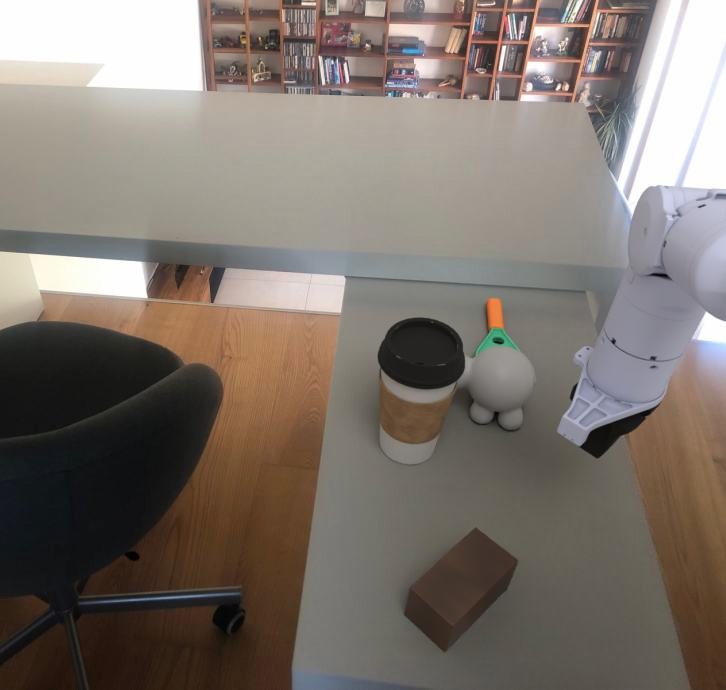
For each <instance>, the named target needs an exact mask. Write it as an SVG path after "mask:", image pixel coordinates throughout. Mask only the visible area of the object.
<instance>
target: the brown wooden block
mask: <svg viewBox="0 0 726 690" xmlns="http://www.w3.org/2000/svg"><path fill="white" fill-rule="evenodd" d="M518 563H519V559H518V558H516V557H515V556H514V555H513V554H511V553H510V552H509V551H508V550H506V549H505V548H504V547H502V546H501V545H500V544H498V543H497V542H496V541H494V540H493V539H492V538H491V537H489V536H488V535H487V534H486V533H484V532H483V531H481V530H480V529H478V528H477V527H474V528H473V529H472V530H471V531H470V532H468V534H466V535H465V537H463V538H462V539H461V540H460V541H458V543H457V544H455V545H454V546H453V548H451V549H450V550H449V551H448V552H447V553H446V554H445V555H444V556H442V557H441V558H440V559H439V560H437V562H436V563H435V564H434V565H433V566H432V567H431V568H430V569H428V570H427V572H425V573H424V574H423V575H422V576H421V577H420V578H419V579H417V581H415V582H414V583H413V584H412V585H411V586H410V587H409V591H408V594H407V595H408V596H407V599H406V604H405V609H404V613H403V615H404V616H405V617H406V618H407V619H408V620H409V621H410V622H411V623H412V624H413V625H415V626H416V627H417V628H418V629H419V631H421V632H422V633H423V634H424V635H426V637H427V638H428V639H430V640H431V641H432V642H433V643H434V644H435V645H436V646H437V647H438V648H439V649H441V651H442V652H444V653H446V652H447V651H448V650H449V649H450V648H451V647H452V646H454V644H455V643H456V642H457V641H458V640H459V639H460V638H461V637H462V636H463V635H464V634H465V633H466V632H467V631H468V630H469V629H470V628H471V626H472V625H473V624H474V623H476V622H477V620H478V619H479V618H481V617H482V615H483V614H484V613H485V612H486V611H487V610H488V609H489V608H490V607H491V606H492V605H493V604H494V603H495V602H496V601H497V600H498V599H499V598H500V597H501V596H502V595H503V593H505V591H507V589H508V588H509V586H510V584H511V581H512V579H513V576H514V573H515V571H516V569H517V566H518Z"/></svg>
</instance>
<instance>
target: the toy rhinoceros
mask: <svg viewBox="0 0 726 690" xmlns="http://www.w3.org/2000/svg"><path fill="white" fill-rule="evenodd" d="M521 352H522V351H521ZM521 352H519V351H518V350H516V349H513V348H510V347H506V346H495V347H490V348H487V349H485V350H483V351H481V352H480V353H479V354H477V355H476V356H475V355H474V356H475V357H474V356H473V357H470V356H468V355H467V354H466V353H464V355H465V369H464V373H463V374H462V376H461V377H460V378H459V379H458V384H457V388H456V390H461V389H466V390H467V391H468V392H469V395H470V396H471V398H472V399H473V402H472V403H471V407H470V409H469V416H470V418H471V420H472V421H473V422H475V423H477V424H479V425H485V424H489V423H491V422H492V420H493V419H494V417H495V412H498V415H497V422H498V424H499V425H500V427H501V428H503V429H504V430H507V431H515V430H517V429H519V428H520V427H522V425H523V421H524V414H523V409H522V406H524V405H525V404H526V403H527V402H528V401H529V400H530V398H531V396H532V394H533V392H534V391H535V387H536V386H537V385H538V380H537V378H536V372H535V369H534V365H533V364H532V362H531V361H530V360H529V358H528V357H527V356H526V355H525V354H524V353H523V352H522V353H523V354H522V353H521Z"/></svg>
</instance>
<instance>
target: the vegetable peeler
mask: <svg viewBox="0 0 726 690" xmlns="http://www.w3.org/2000/svg"><path fill="white" fill-rule="evenodd" d="M486 314H487V315H486V317H487V328H488V329H487V330H488V333H487V335H486V337H485V338H484V339H483V340H482V342H481V344H480V345H479V346H478V348H477V349H476V351H475V353H474V356H473V358H474V357H475V356H476V355H477V354H479V353H480V352H481V351H483V350H485V349H487V348H490V347H495V346H506V347H510V348H513V349H516V350H518V351H519V352H521V353H522V354H524V353H523V352H522V351H521V350H520V349H519V347H518V346H517V345H516V344H515V342H514V341H513V339H512V338H511V337H510V336H509V335H508V334H507V332H506V331H505V325H504V315H503V305H502V300H501V299H500V298H497V297H495V298H494V297H490V298H488V299H487V300H486ZM495 342H498V343H500V344H498V343H495Z"/></svg>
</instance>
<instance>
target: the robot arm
mask: <svg viewBox="0 0 726 690" xmlns="http://www.w3.org/2000/svg"><path fill="white" fill-rule="evenodd" d="M627 257H628V264H627V266H626V269H625V270H624V271H625V272H624V274H623V276H622V279H621V281H620V283H619V286H618V289H617V291H616V293H615V296H614V298H613V301H612V303H611V306H610V308H609V310H608V313H607V315H606V318H605V320H604V323H603V326H602V328H601V331H600V333H599V334H598V338H597V339H596V342H595V344H594V347H592V346H589V345H585V346H583V347H581V348H580V349H578V351H576V352H575V354H574V356H573V359H572V361H573V363H574V365H576V366H578V367H579V368H580V369H581V373H580V376H579V379H578V382H576V383H575V384H574V385H573V387H572V389H571V391H570V395H569V400H570V401H571V404H570V407H569V408H568V409H567V410H566V411H565V413H564V414H563V415H562V417H561V418H560V422H559V424H558V426H557V429H556V432H557V433H558V434H559V435H560V436H562V437H564V438H565V439H567V440H568V441H570V442H571V443H573V444H574V445H576V446H577V447H578V448H580V449H581V450H583V451H584V452H586V453H587V454H589V455H590V456H592V457H594V459H600V458H601V457H602V456H604V454H605V453H607V452H608V450H609V449H611V447H613V446H614V444H615V443H616V442H617V441H618V440H619V439H620V438H621V437H622V436H624V435H628V434H630V433H631V432H633V431H635V430H637V429H638V428H639V427H640V426H641V425H642V424H643V423H644V421H646V420H647V417H648V416H651V415H652V413H654V412H655V411H656V409H657V408H658V407H659V406H660V405H661V404H662V402H663V399H664V397H665V396H666V393H667V391H668V387H669V382H670V380H671V379H672V376H673V374H674V373H675V371H676V369H677V367H678V366H679V363H680V361H681V360H682V358H683V356H684V354H685V352H686V350H687V348H688V347H689V345H690V343H691V341H692V339H693V337H694V335H695V333H696V331H697V330H698V328H699V326H700V324H701V322H702V320H703V319H704V317H705V315H706V313H708V314H709V315H711V316H712V317H713V318H715V319H717V320H720V321H722V322H726V188H702V187H689V186H676V185H675V186H674V185H662V184H657V185H650V186H648V187H647V188H645V190H643V192H642V193H641V195H640V196H639V198H638V200H637V203H636V205H635V207H634V209H633V213H632V217H631V220H630V224H629V230H628V237H627Z"/></svg>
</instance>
